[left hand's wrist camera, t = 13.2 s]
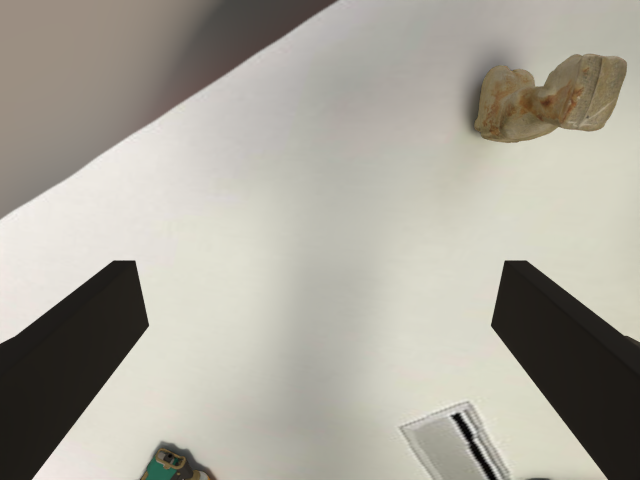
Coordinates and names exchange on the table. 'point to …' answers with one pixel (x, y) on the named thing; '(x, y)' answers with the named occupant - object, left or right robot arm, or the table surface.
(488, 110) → the sculpture
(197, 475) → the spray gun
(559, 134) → the table surface
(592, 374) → the left robot arm
